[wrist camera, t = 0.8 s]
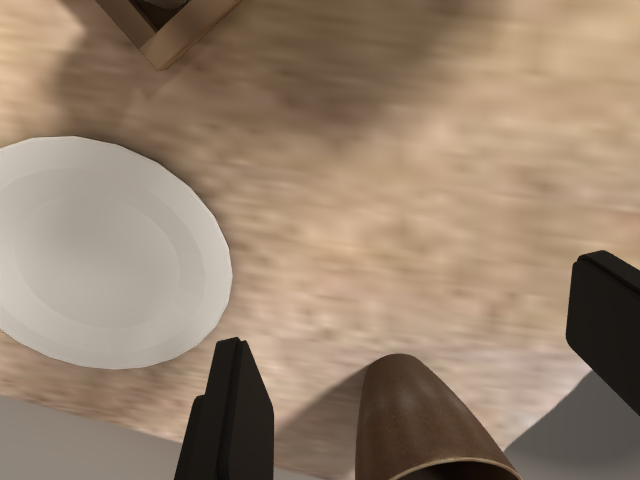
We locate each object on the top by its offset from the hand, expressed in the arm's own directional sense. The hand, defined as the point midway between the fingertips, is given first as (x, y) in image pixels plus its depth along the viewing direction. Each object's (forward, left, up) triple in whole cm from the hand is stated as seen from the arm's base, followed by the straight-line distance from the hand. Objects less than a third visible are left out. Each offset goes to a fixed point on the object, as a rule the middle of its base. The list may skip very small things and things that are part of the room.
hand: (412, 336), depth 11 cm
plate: (+24, -4, -26) cm, 36 cm away
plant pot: (+10, +28, -26) cm, 39 cm away
